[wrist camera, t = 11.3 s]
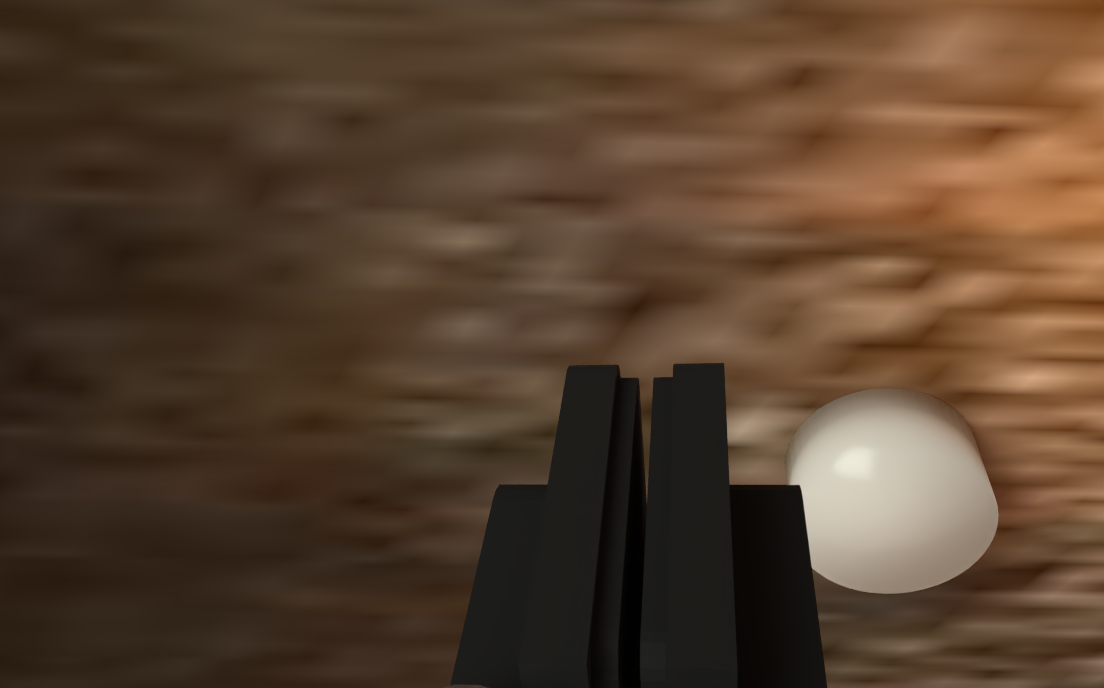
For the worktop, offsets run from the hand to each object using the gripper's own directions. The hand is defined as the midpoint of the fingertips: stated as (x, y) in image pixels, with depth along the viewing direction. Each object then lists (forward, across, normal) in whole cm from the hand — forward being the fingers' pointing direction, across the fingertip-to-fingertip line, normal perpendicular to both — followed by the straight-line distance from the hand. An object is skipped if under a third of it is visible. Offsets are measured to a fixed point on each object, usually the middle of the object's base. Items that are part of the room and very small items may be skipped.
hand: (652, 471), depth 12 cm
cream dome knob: (+27, -8, +23) cm, 37 cm away
